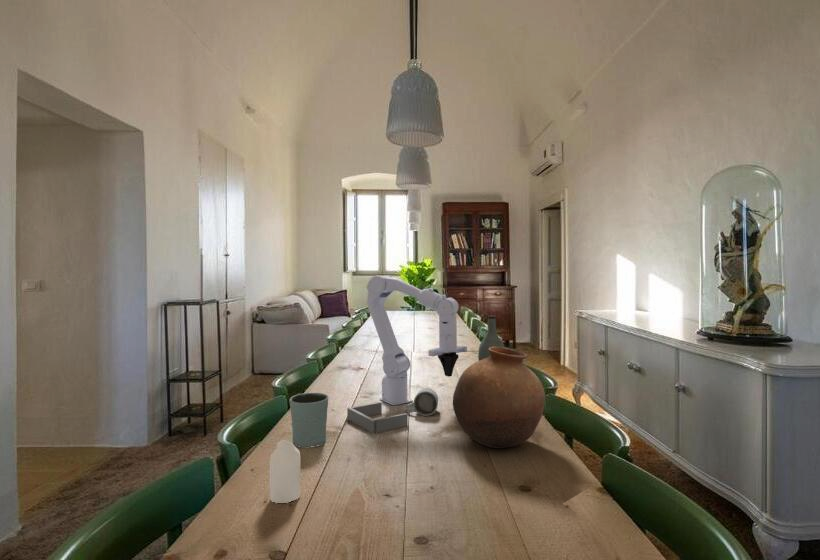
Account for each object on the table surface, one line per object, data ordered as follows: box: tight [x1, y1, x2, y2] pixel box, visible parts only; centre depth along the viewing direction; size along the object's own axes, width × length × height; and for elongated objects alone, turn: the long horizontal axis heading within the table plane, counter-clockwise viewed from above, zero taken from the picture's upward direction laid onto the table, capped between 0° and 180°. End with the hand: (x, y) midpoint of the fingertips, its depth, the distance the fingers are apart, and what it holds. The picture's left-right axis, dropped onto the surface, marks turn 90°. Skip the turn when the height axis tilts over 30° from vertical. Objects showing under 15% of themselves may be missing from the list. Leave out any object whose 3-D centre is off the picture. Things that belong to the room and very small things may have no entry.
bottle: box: [477, 314, 506, 361], centre depth 160 cm, size 9×9×30 cm
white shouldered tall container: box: [269, 439, 302, 504], centre depth 97 cm, size 6×12×6 cm
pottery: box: [452, 347, 546, 449], centre depth 125 cm, size 23×23×25 cm
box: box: [346, 401, 409, 434], centre depth 144 cm, size 16×12×4 cm
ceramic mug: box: [404, 387, 439, 417], centre depth 154 cm, size 11×8×8 cm
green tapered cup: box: [289, 392, 329, 448], centre depth 128 cm, size 10×10×12 cm
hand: (448, 375), depth 159 cm, fingers closed
